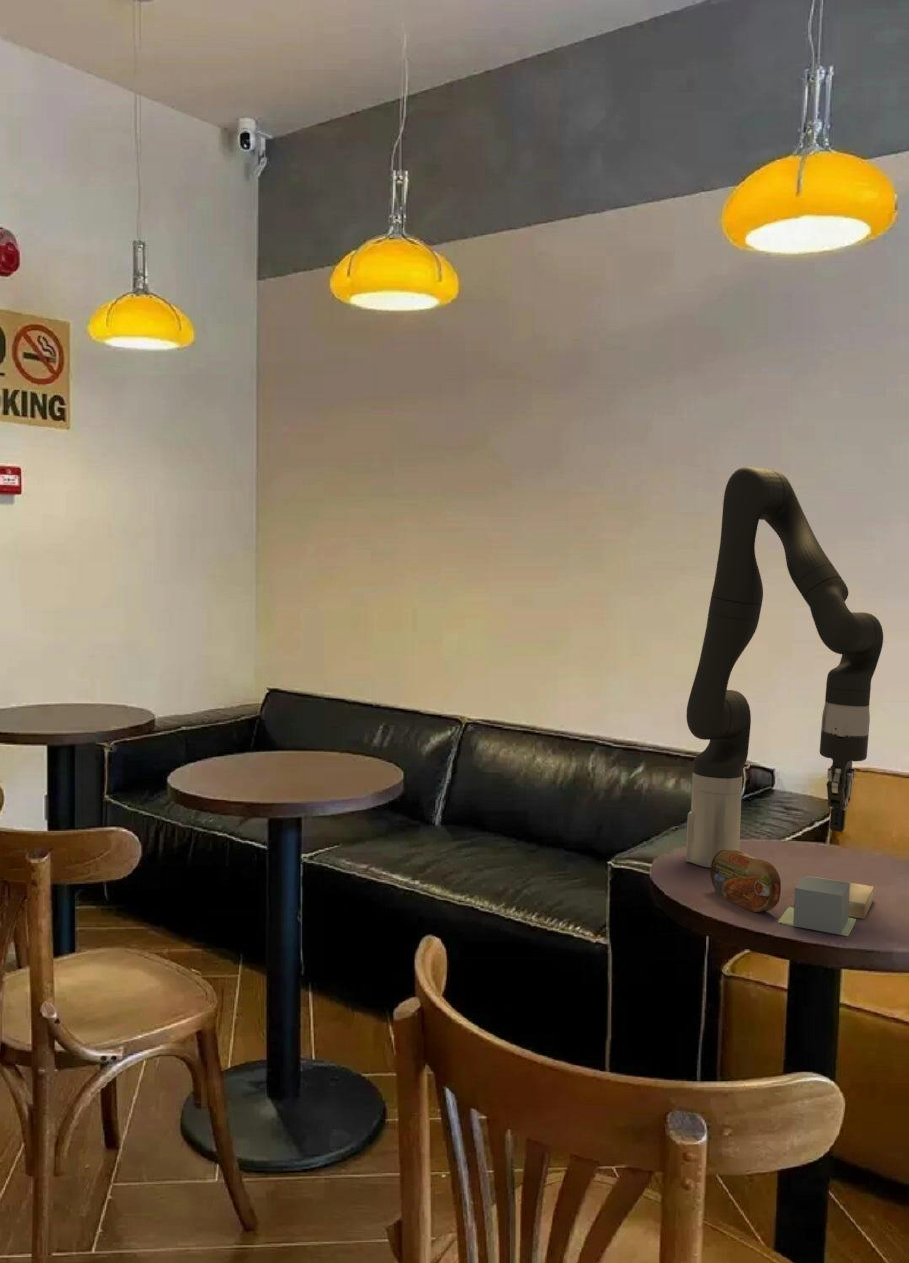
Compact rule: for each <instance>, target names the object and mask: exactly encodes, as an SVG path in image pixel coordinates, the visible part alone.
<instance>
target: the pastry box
mask: <svg viewBox="0 0 909 1263" xmlns="http://www.w3.org/2000/svg"><path fill="white" fill-rule="evenodd" d="M835 880H836V879H830V880H829V878H824V879H823V877H818V878H817V876H812V877H811V876H810V875H803V877H802V878H801V879H800V881H799V882H798V883H797V885H796V886H795V887H794V894H795V897H794V898H793V908H794V918H793V926H792V927H795V926H798V927H797V928H801V927H803V928H802V929H806V928H809V929H808V930H811V929H814V930H813V931H817V930H819V931H818V932H822V931H825V932H824V933H827V932H830V933H829V934H833V933H835V934H834V935H838V934H841V932H842V930H843V929H844V927H845V925H846V923H847V921H848V918H849V916H848V914H849V894H850V883H851V882H849V883H847V882H848V881H843V882H841V880H836V881H835Z"/></svg>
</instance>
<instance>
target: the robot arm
mask: <svg viewBox="0 0 909 1263" xmlns="http://www.w3.org/2000/svg"><path fill="white" fill-rule="evenodd" d="M760 520H761V521H763V520H764V521H765V522H766V523H767V524H768V526H770V528H771V529H772V530H773V531H774V532H775V533H776V535H777V536H778V538H779V540H780V542H781V543H782V546H783V550H784V551H783V552H784V556H785V561H786V567H787V571H788V573H789V576H790V578H791V580H792V582H793V584H794V585H795V588H796V589H797V590H798V591H799V593H800V594H801V596H802V598H803V600H804V601H805V602H806V604H807V605H808V607H809V610H810V613H811V617H812V619H813V623H814V626H815V629H816V632H817V633H818V636H819V637H820V640H821V641H822V643H823V644H824V645H825V646H826V647H827V648H828V649H829V650H830V651H831V652H833V653H835V654H836V655H841V658H840V661H839V663H838V665H837V666H836V667H834V668H832V669H830V671H829V672H828V673H827V677H826V685H825V696H824V697H825V698H824V705H823V706H824V707H823V710H822V716H821V727H820V739H819V740H820V741H819V754H820V755H821V756H822V757H823V758H826V759H831V760H832V762H831V765H830V767H828V768H827V776H826V777H827V779H828V780H827V782H826V791H827V806H828V808H830V816H829V817H830V818H829V830H831V831H832V832H840V833H842V832H844V830H845V828H846V816H847V809H848V807H849V803H850V802H851V795H852V793H853V788H854V787H853V784H854V779H855V778H856V773H857V772H856V768H853V762H863V761H865V760H866V759H867V757H868V746H869V733H870V699H871V688H872V685H871V684H872V678H873V676H874V673H875V671H876V668H877V665H878V662H879V659H880V656H881V653H882V649H883V644H884V631H883V626H882V624H881V622H880V620H879V619H878V618H877V617H876V616H875V615H874V614H871V613H869V612H864V611H863V612H860V611H859V612H855V611H854V612H851V610H850V608H848V606H847V603H846V601H847V599H848V596H849V588H848V587H847V584H846V582H845V581H844V580H843V578H842V576H841V575H840V573H839V572H838V571H837V569H836V568H835V566H834V564H833V563H832V561H831V560H830V559H829V557H828V556H827V554H826V553H825V551H824V550H823V548H822V546H821V545H820V543H819V541H818V539H817V537H816V536H815V534H814V532H813V529H812V528H811V525H810V523H809V521H808V519H807V517H806V515H805V513H804V511H803V509H802V506H801V504H800V501H799V499H798V497H797V494H796V492H795V491H794V488H793V486H792V485H791V483H790V480H789V479H788V477H787V476H785V475H784V474H783V473H782V472H780V471H777V470H775V469H767V468H761V467H753V466H745V467H741V468H738V469H737V470H735V471H734V472H733V473H732V474H731V476H730V477H729V478H728V480H727V483H726V485H725V490H724V495H723V501H722V517H721V532H720V541H719V548H718V549H719V550H718V555H717V562H716V563H717V564H716V570H715V577H714V582H713V586H712V592H711V596H710V601H709V607H708V612H707V613H708V614H707V621H706V627H705V633H704V637H703V643H702V646H701V647H702V648H701V653H700V657H699V661H698V665H697V669H696V673H695V676H694V680H693V683H692V686H691V690H690V694H689V697H688V701H687V706H686V723H687V727H688V730H689V731H690V733H691V734H692V735H693V737H695V738H697V739H699V740H703V741H704V740H705V741H706V740H709V743H708V745H707V746H706V748H705V749H703V751H701V753H698V755H696V756H695V757H694V759H693V763H692V778H691V780H692V782H691V783H692V784H691V807H690V811H689V812H687V822H686V823H687V825H686V844H685V846H686V847H685V849H686V851H685V862H687V863H691V864H694V865H697V866H700V867H703V868H709V869H711V863H712V860H713V858H714V856H715V855H716V853H718V852H719V851H721V850H736V851H740V838H741V837H740V835H741V816H742V815H741V813H742V811H741V810H742V795H743V793H742V788H743V773H744V772H743V770H744V766H745V765H746V762H747V759H748V755H749V745H750V736H751V734H750V733H751V725H752V724H751V723H752V722H751V721H752V718H751V716H752V714H751V713H752V712H751V708H750V704H749V701H748V700H747V698H746V696H744V695H743V693H741V692H739V691H737V690H734V689H728V685H729V681H730V678H731V673H732V670H733V668H734V667H735V664H736V663H737V661H738V660H739V659H740V656H741V655H742V654H743V652H744V650H745V649H746V648H747V646H748V645H749V643H750V642H751V640H753V639H752V638H753V637H754V635H755V633H756V632H757V628H758V625H759V622H760V617H761V610H762V606H763V605H762V604H763V600H764V599H763V598H764V589H763V588H764V587H763V580H762V576H761V573H760V568H759V566H758V562H757V558H756V550H755V548H756V547H755V546H756V537H757V531H758V526H759V522H760Z"/></svg>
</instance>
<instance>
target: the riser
mask: <svg viewBox="0 0 909 1263" xmlns="http://www.w3.org/2000/svg"><path fill="white" fill-rule="evenodd" d="M811 877H813V876H811ZM816 877H817V876H816ZM817 878H819V877H817ZM822 878H823V877H822ZM823 879H825V878H823ZM828 879H829V878H828ZM829 880H831V878H830V879H829ZM834 880H835V881H837V880H836V879H834ZM840 881H841V880H840ZM841 882H844V881H843V880H842V881H841ZM846 882H847V883H850V894H849V914H848V917H850V918H855V919H856V918H857V919H862V920H864V919H866V917H867V915H868V912H869V911H870V908H871V906H872V905H873V902H874V894H875V892H874V891H875V886H872V885H865V884H860V883H853V882H848V881H846ZM794 897H795V893H794Z"/></svg>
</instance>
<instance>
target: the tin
mask: <svg viewBox="0 0 909 1263" xmlns="http://www.w3.org/2000/svg"><path fill="white" fill-rule="evenodd" d="M709 869H710V880H711V884H712V887H713V888H714V890H715V892H716V894H717V895H718V896H719V897H720V898H721V897H722V898H721V899H723V900H725V901H727V902H730V901H731V902H730V903H733V904H735V905H737V906H739V907H742V908H743V909H746V910H748V911H751V912H754V913H759V912H766V911H771V910H773V909H774V908H775V907H777V905H778V904H779V901H780V898H781V889H782V886H781V884H782V881H781V876H780V875H779V872H778V871H777V869H776V867H775V866H774V865H773V864H772V863H770V862H769V861H767V860H764V859H761V858H758V857H756V856H753V855H751V854H748V853H745V852H742V851H740V850H739V851H736V850H721V851H719V852H718V853H716V855H715V856H714V858H713V860H712V863H711V868H709Z"/></svg>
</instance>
